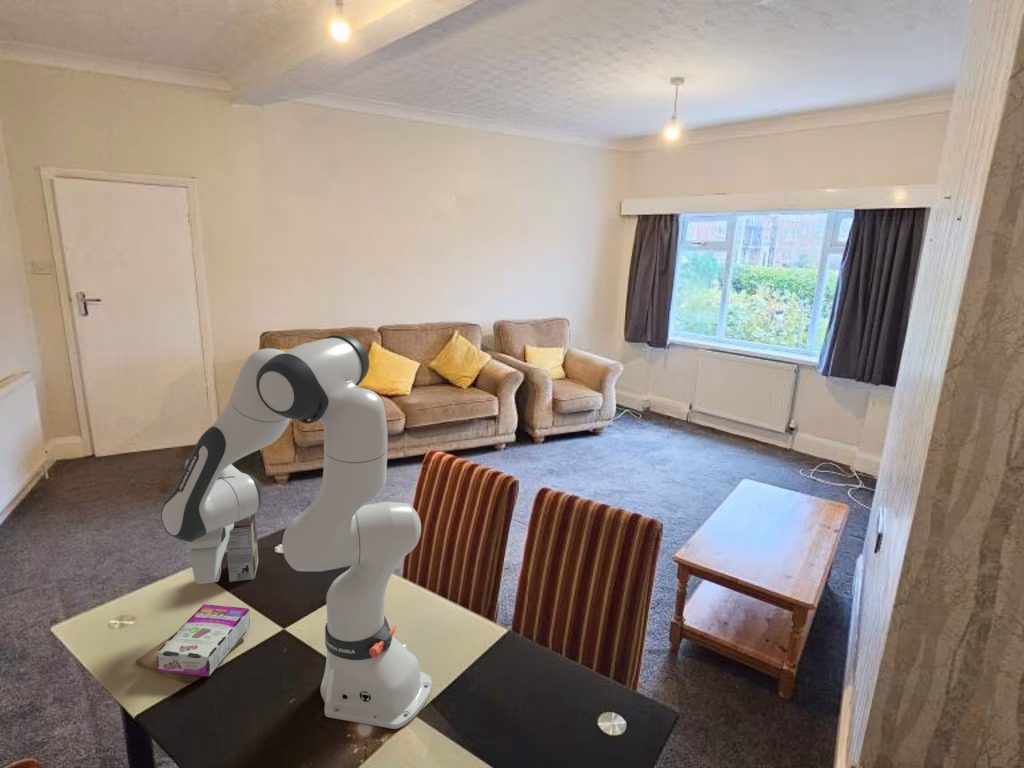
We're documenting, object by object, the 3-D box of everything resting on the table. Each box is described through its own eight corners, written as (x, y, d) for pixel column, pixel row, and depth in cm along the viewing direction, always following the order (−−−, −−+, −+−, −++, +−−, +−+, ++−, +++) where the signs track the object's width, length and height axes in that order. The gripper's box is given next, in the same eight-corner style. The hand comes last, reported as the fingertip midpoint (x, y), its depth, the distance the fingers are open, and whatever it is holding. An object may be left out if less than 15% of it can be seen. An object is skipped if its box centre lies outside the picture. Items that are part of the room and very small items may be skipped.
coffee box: (233, 564, 156) (230, 510, 152) (259, 561, 158) (255, 508, 154) (228, 582, 147) (224, 526, 144) (255, 579, 149) (251, 524, 146)
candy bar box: (205, 622, 130) (156, 672, 114) (203, 603, 129) (154, 651, 113) (251, 627, 130) (209, 678, 114) (250, 607, 129) (207, 656, 113)
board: (243, 641, 126) (243, 638, 126) (189, 684, 113) (188, 681, 113) (193, 624, 131) (193, 621, 130) (135, 663, 118) (135, 660, 118)
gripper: (204, 503, 131) (209, 556, 134) (184, 546, 112) (189, 607, 115) (234, 500, 133) (238, 553, 136) (219, 543, 114) (223, 603, 117)
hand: (215, 578), depth 126 cm, fingers closed
